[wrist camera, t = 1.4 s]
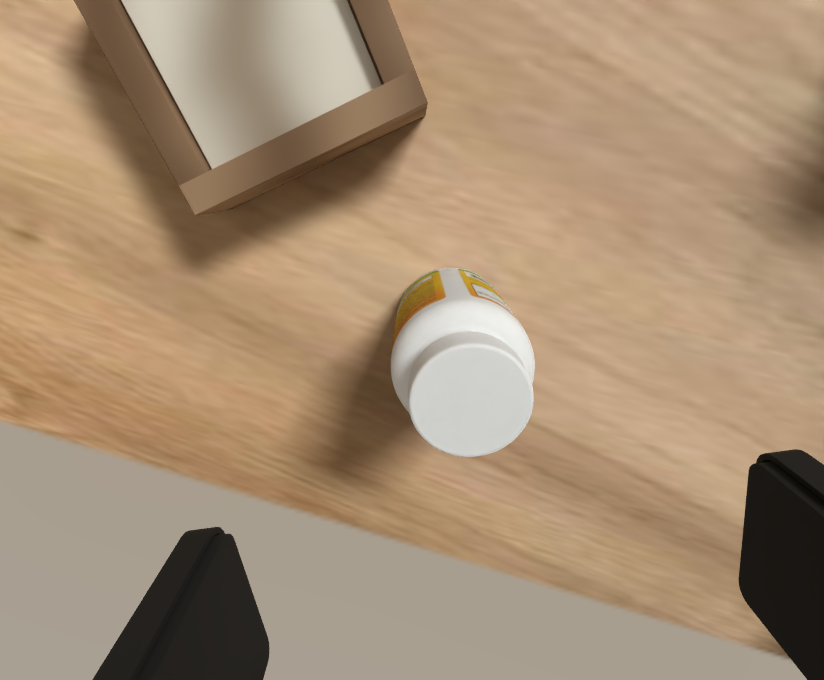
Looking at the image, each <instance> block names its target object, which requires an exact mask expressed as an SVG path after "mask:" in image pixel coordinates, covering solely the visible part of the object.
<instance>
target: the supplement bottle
mask: <svg viewBox="0 0 824 680" xmlns="http://www.w3.org/2000/svg"><path fill="white" fill-rule="evenodd" d="M534 372H535V360H534V353H533V349H532V346H531V343H530V340H529V338H528V336H527V334H526V332H525V330H524V328H523V327H522V325H521V324H520V322H519V321H518V320H517V318H516V317H515V316H514V314H513V313H512V311H511V310H510V309H509V307H508V306H507V305H506V303H505V302H504V301H503V299H502V298H501V297H500V295H499V294H498V293H497V291H496V290H495V289H494V287H493V286H492V285H491V284H490V283H489V282H488V281H486V280H485V279H484V278H483V277H481V276H480V275H478V274H476V273H474V272H472V271H469V270H466V269H462V268H452V267H449V268H441V269H437V270H433V271H431V272H429V273H426V274H424V275H423V276H421V277H420V278H418V279H417V280H416V281H415V282H413V283H412V284H411V285H410V286H409V288H408V289H407V290H406V292H405V293H404V295H403V297H402V299H401V301H400V303H399V306H398V310H397V315H396V323H395V330H394V338H393V346H392V352H391V377H392V382H393V386H394V389H395V391H396V394H397V396H398V398H399V399H400V401H401V403H402V404H403V406H404V407H405V409H406V410H407V411H408V412H409V413H410V417H411V420H412V422H413V424H414V426H415V428H416V430H417V431H418V433H419V434H420V435H421V436H422V437H423V439H425V440H426V441H427V442H428V443H429V444H430V445H432V446H433V447H435V448H436V449H438V450H440V451H442V452H444V453H447V454H451V455H455V456H461V457H476V456H483V455H487V454H490V453H493V452H495V451H498V450H500V449H502V448H504V447H505V446H507V445H508V444H510V443H511V442H512V441H513V440H515V439H516V437H517V436H518V435H519V434H520V433H521V432H522V431H523V429H524V428H525V426H526V424H527V423H528V421H529V418H530V415H531V412H532V408H533V399H534V395H533V387H532V383H533V379H534Z"/></svg>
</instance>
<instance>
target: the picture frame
mask: <svg viewBox="0 0 824 680" xmlns="http://www.w3.org/2000/svg"><path fill="white" fill-rule="evenodd" d="M74 2H75V3H76V5H77V7H78V9H79V10H80V12H81V14H82V16H83V17H84V19H85V21H86V23H87V25H88V26H89V28H90V30H91V32H92V33H93V35H94V37H95V39H96V40H97V42H98V44H99V46H100V48H101V49H102V51H103V53H104V55H105V56H106V58H107V60H108V62H109V63H110V65H111V67H112V69H113V71H114V72H115V74H116V76H117V78H118V79H119V81H120V83H121V85H122V86H123V88H124V90H125V92H126V94H127V95H128V97H129V99H130V101H131V102H132V104H133V106H134V108H135V109H136V111H137V113H138V115H139V117H140V118H141V120H142V122H143V124H144V125H145V127H146V129H147V131H148V132H149V134H150V136H151V138H152V140H153V141H154V143H155V145H156V147H157V148H158V150H159V152H160V154H161V155H162V157H163V159H164V161H165V162H166V164H167V166H168V168H169V170H170V171H171V173H172V175H173V177H174V178H175V180H176V182H177V184H178V185H179V187H180V189H181V191H182V193H183V194H184V196H185V198H186V200H187V201H188V203H189V205H190V207H191V208H192V210H193V212H194V214H195V215H198V214H205V213H211V212H217V211H223V210H229V209H232V208H234V207H236V206H238V205H240V204H242V203H244V202H247V201H249V200H251V199H253V198H255V197H257V196H259V195H261V194H263V193H265V192H267V191H269V190H272V189H274V188H276V187H278V186H280V185H282V184H284V183H286V182H288V181H290V180H292V179H294V178H297V177H299V176H301V175H303V174H305V173H307V172H309V171H311V170H313V169H315V168H317V167H319V166H321V165H324V164H326V163H328V162H330V161H332V160H334V159H336V158H338V157H340V156H342V155H344V154H346V153H349V152H351V151H353V150H355V149H357V148H359V147H361V146H363V145H365V144H367V143H369V142H371V141H373V140H376V139H378V138H380V137H382V136H384V135H386V134H388V133H390V132H392V131H394V130H396V129H398V128H401V127H403V126H405V125H407V124H409V123H411V122H413V121H415V120H417V119H419V118H421V117H423V116H425V115H426V109H427V103H428V102H427V100H426V97H425V95H424V92H423V89H422V87H421V84H420V82H419V79H418V77H417V74H416V71H415V69H414V66H413V64H412V61H411V58H410V56H409V53H408V51H407V48H406V46H405V43H404V40H403V38H402V35H401V33H400V30H399V28H398V25H397V22H396V20H395V17H394V15H393V12H392V9H391V7H390V4H389V2H388V0H74Z"/></svg>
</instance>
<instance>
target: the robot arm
mask: <svg viewBox="0 0 824 680" xmlns="http://www.w3.org/2000/svg"><path fill="white" fill-rule="evenodd" d="M739 586H740V590H741V593H742V595H743V597H744V599H745V601H746V602H747V604H748V605H749V607H750V608H751V609H752V610H753V612H754V613H755V614H756V615H757V617H758V618H759V619H760V620H761V622H762V623H763V624H764V625H765V627H766V628H767V629H768V631H769V632H770V633H771V634H772V636H773V637H774V638H775V639H776V641H777V642H778V643H779V644H780V646H781V647H782V648H783V649H784V651H785V652H786V653H787V654H788V656H789V657H790V658H791V660H792V661H793V662H794V663H795V664H796V666H797V667H798V668H799V670H800V671H801V672H802V673H803V675H804V676H805V677H806V678H807V680H824V465H823V464H822V463H820V462H819V461H817V460H816V459H815V458H813V457H812V456H810V455H809V454H807V453H806V452H804V451H802V450H796V449H795V450H788V451H780V452H773V453H765V454H762V455H760V456H759V457H758V459H757V462H756V464H753V465H751V467H750V469H749V475H748V485H747V496H746V507H745V518H744V528H743V539H742V550H741V561H740V571H739ZM268 659H269V641H268V637H267V634H266V631H265V628H264V625H263V622H262V619H261V616H260V614H259V611H258V607H257V605H256V602H255V599H254V596H253V593H252V590H251V587H250V584H249V581H248V578H247V575H246V572H245V569H244V566H243V564H242V561H241V558H240V555H239V552H238V549H237V546H236V543H235V541H234V538H233V536H232V535H231V534H225V533H224V531H223V530H222V529H221V528H220V527H214V528H207V529H198V530H191V531H187V532H185V533H184V534H183V536H182V537H181V538H180V540H179V542H178V543H177V545H176V546H175V548H174V550H173V551H172V553H171V554H170V556H169V558H168V559H167V561H166V563H165V564H164V566H163V567H162V569H161V571H160V572H159V574H158V575H157V577H156V579H155V580H154V582H153V583H152V585H151V587H150V588H149V590H148V591H147V593H146V595H145V596H144V598H143V600H142V601H141V603H140V604H139V606H138V608H137V609H136V611H135V612H134V614H133V616H132V617H131V619H130V620H129V622H128V624H127V625H126V627H125V628H124V630H123V632H122V633H121V635H120V636H119V638H118V640H117V641H116V643H115V644H114V646H113V648H112V649H111V651H110V653H109V654H108V656H107V657H106V659H105V660H104V662H103V664H102V665H101V667H100V669H99V670H98V672H97V673H96V675H95V677H94V678H93V680H263V677H264V674H265V670H266V667H267V663H268Z"/></svg>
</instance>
